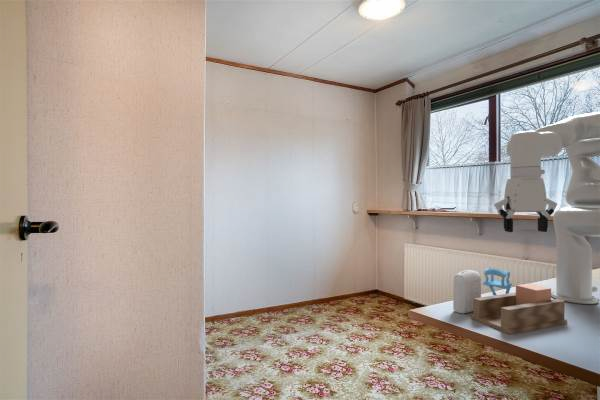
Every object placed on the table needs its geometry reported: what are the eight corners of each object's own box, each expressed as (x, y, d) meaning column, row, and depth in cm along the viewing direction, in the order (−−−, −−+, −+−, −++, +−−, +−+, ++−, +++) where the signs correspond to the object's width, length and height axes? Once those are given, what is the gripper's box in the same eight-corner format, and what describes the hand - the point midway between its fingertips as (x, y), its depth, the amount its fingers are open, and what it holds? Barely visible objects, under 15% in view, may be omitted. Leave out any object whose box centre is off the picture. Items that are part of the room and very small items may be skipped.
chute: (524, 309, 104) (524, 290, 104) (567, 323, 92) (567, 301, 92) (471, 318, 96) (471, 297, 96) (510, 334, 85) (510, 310, 85)
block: (529, 310, 100) (529, 283, 100) (550, 316, 94) (551, 288, 94) (515, 312, 98) (515, 285, 98) (536, 319, 92) (536, 290, 92)
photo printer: (469, 305, 108) (469, 267, 108) (483, 309, 104) (483, 269, 104) (451, 311, 102) (451, 270, 102) (464, 315, 99) (464, 273, 99)
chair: (514, 304, 109) (515, 267, 109) (506, 309, 103) (506, 271, 103) (489, 299, 115) (489, 264, 115) (479, 303, 109) (479, 267, 109)
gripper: (546, 174, 102) (547, 230, 102) (488, 175, 103) (489, 230, 103) (565, 172, 95) (565, 232, 95) (502, 173, 95) (502, 233, 96)
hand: (525, 231), depth 99 cm, fingers open, 9 cm apart
